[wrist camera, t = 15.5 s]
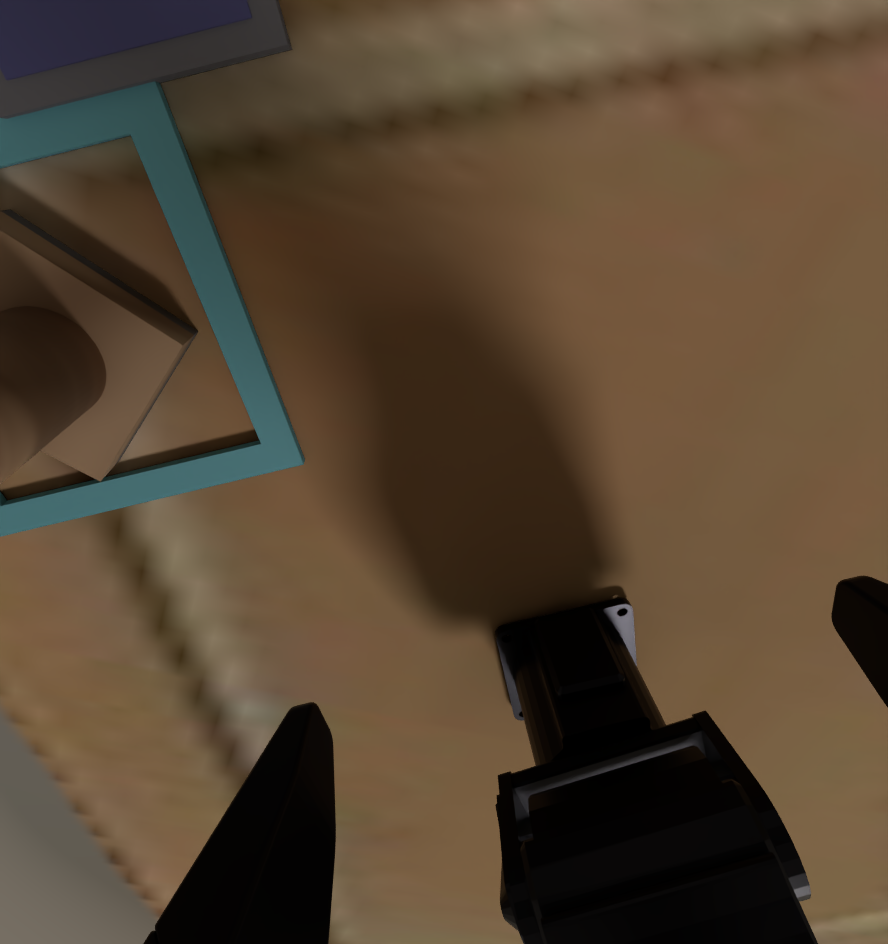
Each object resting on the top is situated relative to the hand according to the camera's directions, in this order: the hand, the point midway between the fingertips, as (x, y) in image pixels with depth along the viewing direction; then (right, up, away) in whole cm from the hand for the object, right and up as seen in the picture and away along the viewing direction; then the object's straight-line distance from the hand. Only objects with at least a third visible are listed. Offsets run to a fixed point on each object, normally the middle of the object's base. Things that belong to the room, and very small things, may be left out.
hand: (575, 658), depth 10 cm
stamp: (-15, +7, +9) cm, 19 cm away
